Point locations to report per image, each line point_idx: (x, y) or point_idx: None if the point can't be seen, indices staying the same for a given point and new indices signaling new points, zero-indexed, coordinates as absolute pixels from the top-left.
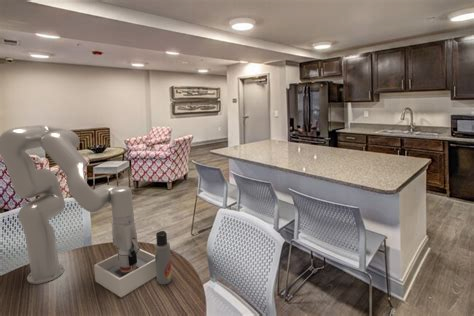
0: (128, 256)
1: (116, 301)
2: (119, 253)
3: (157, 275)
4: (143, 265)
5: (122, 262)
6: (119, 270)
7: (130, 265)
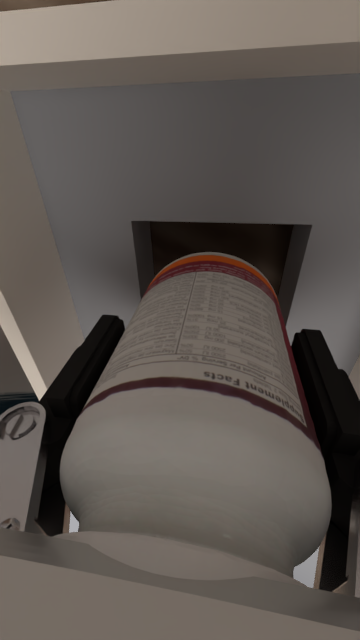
0: (62, 401)
1: (6, 5)
2: (191, 410)
3: (3, 341)
4: (34, 364)
5: (168, 306)
6: (297, 270)
7: (104, 320)
